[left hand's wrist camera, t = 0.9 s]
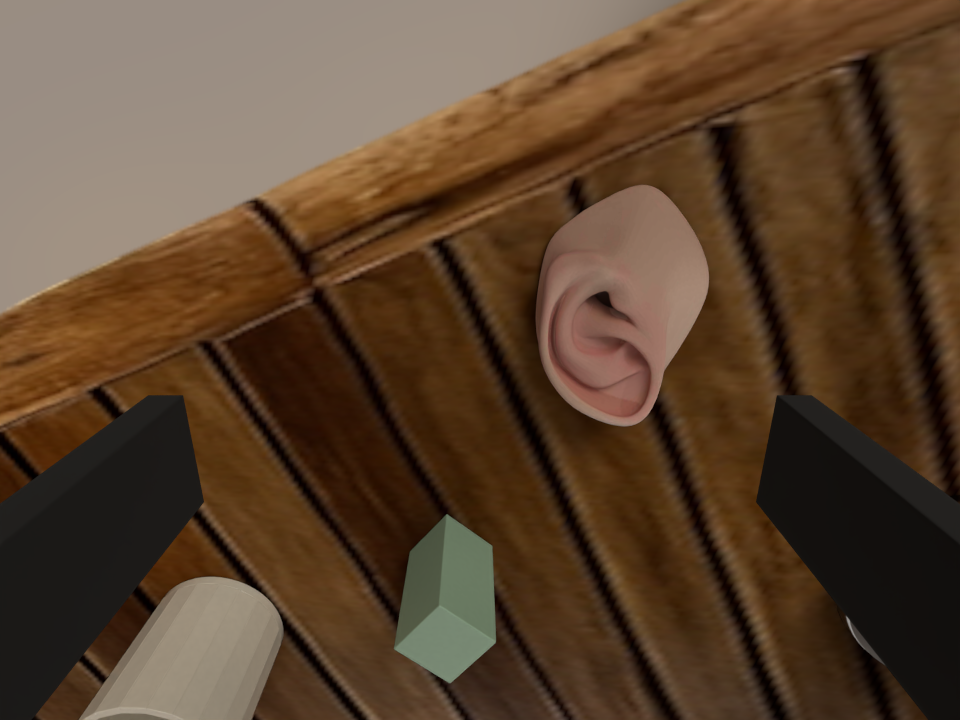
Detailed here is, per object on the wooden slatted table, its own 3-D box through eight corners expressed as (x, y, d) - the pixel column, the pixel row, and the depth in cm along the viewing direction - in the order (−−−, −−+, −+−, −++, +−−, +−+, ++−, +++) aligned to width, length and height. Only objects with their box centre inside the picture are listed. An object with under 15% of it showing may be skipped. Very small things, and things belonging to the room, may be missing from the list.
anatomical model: (631, 154, 29) (787, 280, 32) (613, 153, 33) (754, 266, 35) (482, 352, 33) (632, 451, 35) (482, 331, 37) (617, 422, 39)
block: (492, 545, 43) (496, 642, 34) (454, 581, 44) (450, 684, 36) (446, 513, 42) (439, 605, 33) (409, 551, 43) (393, 649, 35)
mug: (147, 574, 44) (46, 705, 33) (278, 578, 44) (217, 709, 34) (178, 724, 49) (100, 876, 39) (293, 727, 50) (246, 878, 39)
